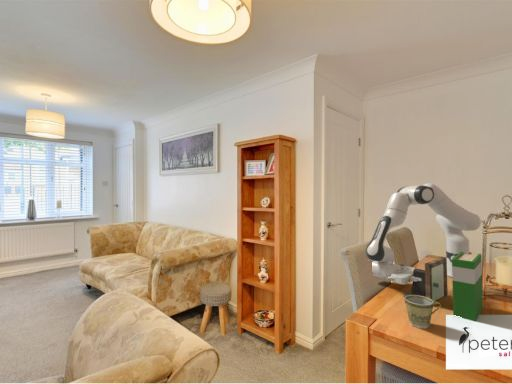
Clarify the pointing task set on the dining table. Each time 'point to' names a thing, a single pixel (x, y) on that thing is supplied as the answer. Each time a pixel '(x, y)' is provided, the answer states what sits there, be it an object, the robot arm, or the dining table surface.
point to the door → (437, 282)
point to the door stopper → (419, 283)
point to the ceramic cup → (420, 310)
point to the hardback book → (467, 285)
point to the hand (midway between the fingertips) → (423, 279)
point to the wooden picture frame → (429, 275)
